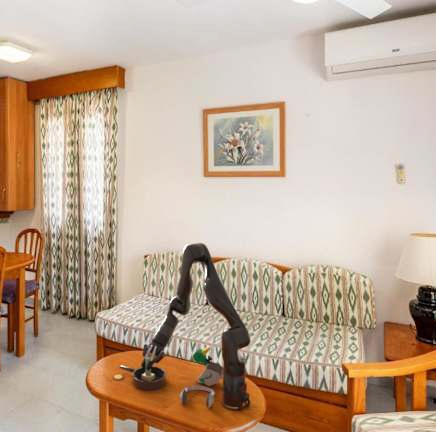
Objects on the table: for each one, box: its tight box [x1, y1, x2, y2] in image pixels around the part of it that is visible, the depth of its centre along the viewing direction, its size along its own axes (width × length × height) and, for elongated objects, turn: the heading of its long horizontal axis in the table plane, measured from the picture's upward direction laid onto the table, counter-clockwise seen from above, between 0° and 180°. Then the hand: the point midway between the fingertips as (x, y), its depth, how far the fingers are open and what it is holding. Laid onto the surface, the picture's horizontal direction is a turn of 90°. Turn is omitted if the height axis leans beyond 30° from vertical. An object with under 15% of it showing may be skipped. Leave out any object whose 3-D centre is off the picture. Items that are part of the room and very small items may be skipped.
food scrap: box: [113, 374, 124, 380], centre depth 185 cm, size 4×4×1 cm
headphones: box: [169, 385, 216, 409], centre depth 167 cm, size 17×6×20 cm
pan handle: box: [119, 364, 136, 374], centre depth 188 cm, size 11×2×2 cm, turn 58°
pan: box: [132, 365, 167, 392], centre depth 181 cm, size 15×15×4 cm
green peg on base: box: [141, 357, 155, 382], centre depth 181 cm, size 5×4×11 cm
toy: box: [192, 346, 223, 389], centre depth 181 cm, size 6×17×20 cm
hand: (144, 368), depth 179 cm, fingers closed on green peg on base, 2 cm apart
